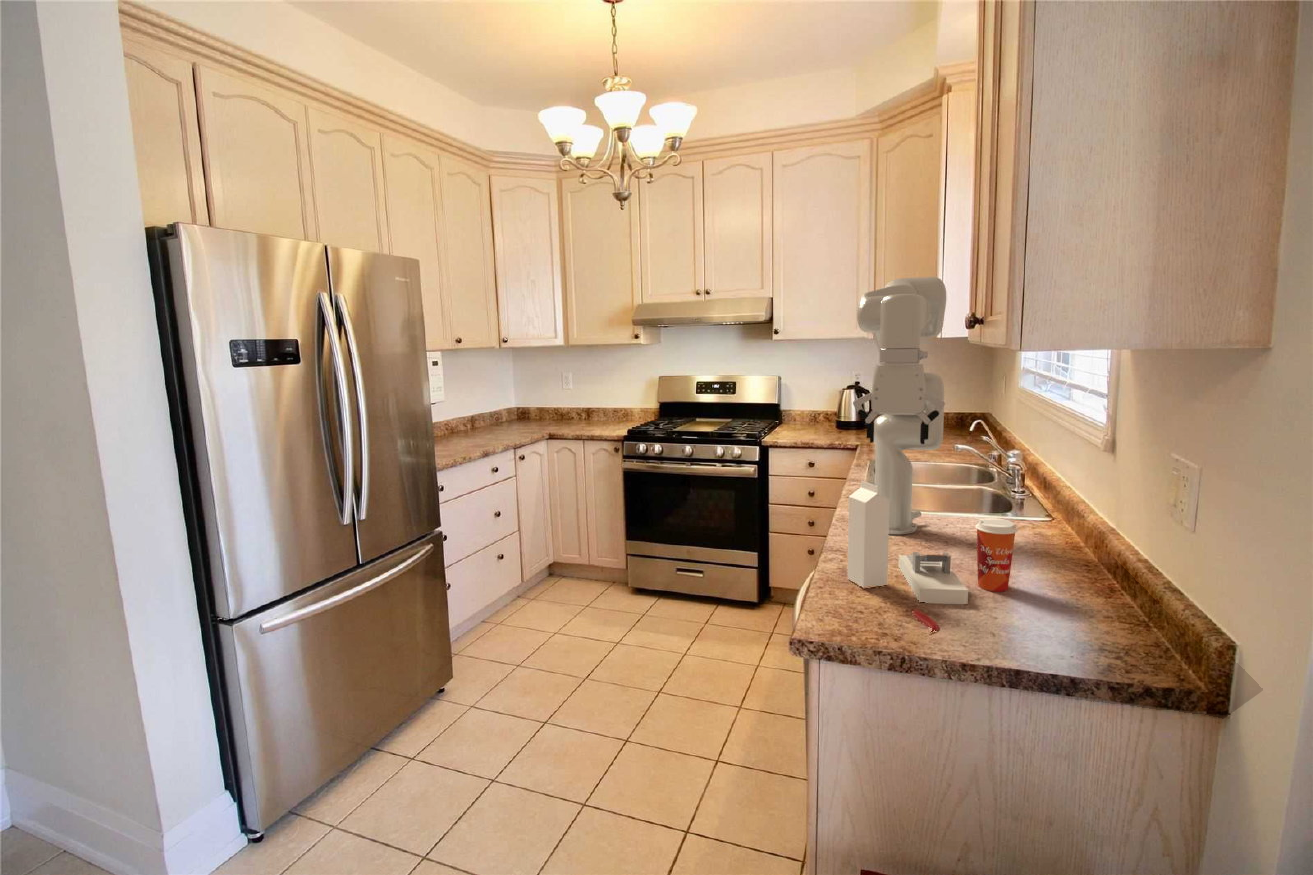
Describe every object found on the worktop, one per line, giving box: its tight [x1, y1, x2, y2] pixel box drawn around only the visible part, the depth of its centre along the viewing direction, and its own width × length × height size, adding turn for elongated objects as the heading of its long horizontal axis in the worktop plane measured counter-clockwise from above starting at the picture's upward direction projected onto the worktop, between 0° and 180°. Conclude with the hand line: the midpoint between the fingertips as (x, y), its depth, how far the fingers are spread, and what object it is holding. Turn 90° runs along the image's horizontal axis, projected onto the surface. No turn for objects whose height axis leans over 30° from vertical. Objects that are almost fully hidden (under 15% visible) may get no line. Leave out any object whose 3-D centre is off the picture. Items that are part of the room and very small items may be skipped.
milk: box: [846, 480, 890, 587], centre depth 139 cm, size 6×6×22 cm
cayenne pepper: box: [910, 607, 940, 634], centre depth 122 cm, size 12×5×2 cm, turn 161°
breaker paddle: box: [920, 554, 948, 562], centre depth 138 cm, size 9×4×1 cm, turn 171°
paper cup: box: [974, 517, 1018, 593], centre depth 136 cm, size 8×8×14 cm
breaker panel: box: [897, 551, 969, 605], centre depth 139 cm, size 20×9×7 cm, turn 171°
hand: (896, 442), depth 133 cm, fingers open, 9 cm apart
